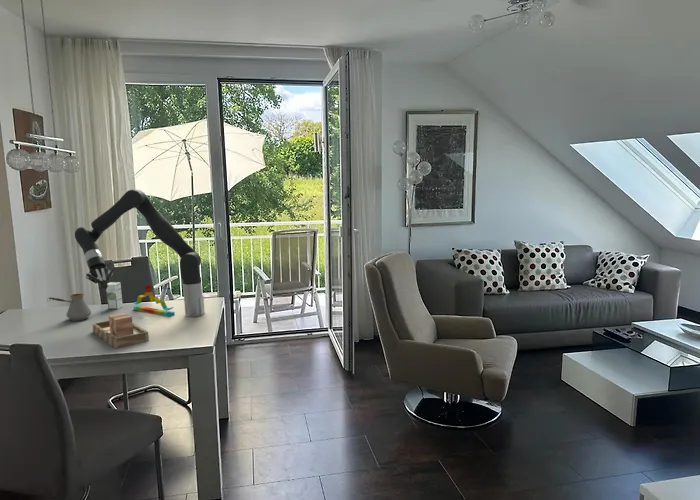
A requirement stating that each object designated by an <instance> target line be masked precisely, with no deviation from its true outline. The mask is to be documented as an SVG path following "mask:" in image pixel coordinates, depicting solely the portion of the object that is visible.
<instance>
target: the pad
mask: <svg viewBox="0 0 700 500" xmlns="http://www.w3.org/2000/svg"><path fill="white" fill-rule="evenodd" d="M138 333H140V332H139V331H137V330H136V329H134V328H133V334H138ZM110 334H111V335H112V336H114V335H113V334H112V333H110ZM133 334H131V335H133ZM126 336H129V335H126ZM114 337H115V338H120V337H116V336H114ZM122 337H124V336H122Z"/></svg>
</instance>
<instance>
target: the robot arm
mask: <svg viewBox="0 0 700 500" xmlns="http://www.w3.org/2000/svg"><path fill="white" fill-rule="evenodd" d="M132 209H135V210H137V211H138V212H139V213H140V214H142V216H143V217H144V219H145V220H146V222H147V224H148V226H149V228H150V229H151V231H152V232H153V234H154V235H155V236H156V238H158V239H159V240H160V241H161V242H162V243H164V245H166V246H168V247H170V248H171V249H172V250H173V251H174V252H175V253H176V254H177V255H178V256H179V258H180V261H179V268H180V276H181V280H182V289H183V304H184V315H185V317H189V318H190V317H191V318H193V317H195V318H196V317H200V316H203V315H204V314H205V313H206V312H205V303H204V302H205V299H204V297H205V296H204V295H203V289H202V277H201V276H200V270H199V267H200V266H201V264H202V258H201V256H200V254H199V253H198V252H197V251H195V249H194V248H193V247H191V246H190V245H189V244H188V243H187V242H186V240H184V238H183V237H182V235H180V233H179V232H178V231H177V230H176V228H174V226H173V225H172V224H171V223H170V221H168V220H167V218H166V217H164V215H163V214H162V213H161V212H160V211H159V210H158V209H157V208H156V207H155V205H154V204H153V203H152V202H151V200H150V199H149V197H148V196H147V194H146V193H145V192H144V191H142V189H141V190H140V189H136V188H135V189H133V188H132V189H128V190H127V191H126V192H125V193H124V194H123V195H122V196H121V197H120V198H119V200H118V201H116V202H115V203H114V204H113V205H112V206H111V207H110V208H109V209H107V210H106V211H104V212H103V213H102V214H101V215H99V216H98V217H97V218H96V219H94V220H93V221H91V225H90V226H91V228H92V230H91V229H89V228H87V227H83V226H81V227H78V228H76V230H75V231H74V238H75V241H76V243H77V244H78V246H79V247H80V248H81V249H82V252H83V255H84V257H85V262H86V264H87V267H88V270H89V272H87V273H86V274H85V279H86V280H88V281H90V282H92V283H94V284H99V286H100V288H101V290H106V289H107V287H108V285H107V284H108V283H110V282H109V281H110V280H111V278H112V277H113V275H114V272H115V271H114V269H109V268H108V267H107V265H106V262H105V260H104V257H103V255H102V253H101V250H100V248H99V245H98V244H97V243H96V242H97V241H98V240H99V239H100V237H101V236H102V235H103V233H104V232H105V231H106V230H108V229H109V228H110V227H111V226H113V225H114V224H115V223H116V222H117V220H119V218H121V216H123V215H124V214H125V213H127V212H129V211H131V210H132ZM107 274H108V275H107ZM106 276H107V277H106Z"/></svg>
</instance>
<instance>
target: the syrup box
mask: <svg viewBox="0 0 700 500" xmlns="http://www.w3.org/2000/svg"><path fill="white" fill-rule="evenodd" d="M107 285H108V287H107V289H105V291H106V299H107V309H108V310H118V309H119V310H120V309H121V308H123V307H124V305H123V295H122V285H121V281H120V282H119V281H118V282H117V281H116V282H115V281H110V282H107Z"/></svg>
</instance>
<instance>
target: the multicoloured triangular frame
mask: <svg viewBox="0 0 700 500" xmlns="http://www.w3.org/2000/svg"><path fill="white" fill-rule="evenodd" d="M145 297H149V301H150V302H155V303H156V304H160V306H161V307H162V309H159V308H152V307H148V306H143V305H142V306H141V305H140V304H141V303H142V298H145ZM133 304H134V305H135V306H133V310H134V311H138V312H139V311H140V312H144V313H149V314H155V315H160V316H165V317H173V316H175V313H176V312H175V311H171V310H172V309H174V307H173V306H171V307H168V306H167V304H166V302H165V300H164V299H161V300H160V298H159V297H158V296H154V293H153V290H152V285H151V284H149V285H145V290H144V294H140V295H138V296H137V300H136V301H135V302H133Z"/></svg>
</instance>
